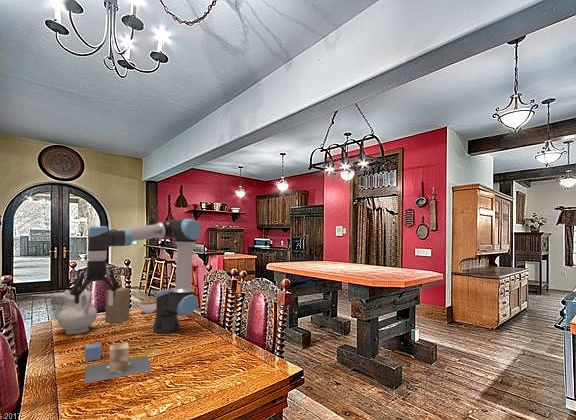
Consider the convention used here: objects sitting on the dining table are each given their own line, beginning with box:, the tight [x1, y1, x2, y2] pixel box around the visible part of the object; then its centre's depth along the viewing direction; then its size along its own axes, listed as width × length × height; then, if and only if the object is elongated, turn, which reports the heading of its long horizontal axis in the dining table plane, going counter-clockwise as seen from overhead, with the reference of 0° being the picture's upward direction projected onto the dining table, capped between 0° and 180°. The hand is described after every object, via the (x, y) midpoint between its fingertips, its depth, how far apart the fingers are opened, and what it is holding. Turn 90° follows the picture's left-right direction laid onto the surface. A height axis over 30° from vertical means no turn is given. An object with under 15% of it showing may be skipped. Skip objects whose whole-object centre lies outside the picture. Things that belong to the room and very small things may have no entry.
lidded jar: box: [140, 298, 156, 314], centre depth 234 cm, size 11×11×9 cm
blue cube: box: [84, 342, 102, 362], centre depth 151 cm, size 6×6×6 cm
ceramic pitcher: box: [56, 286, 98, 335], centre depth 191 cm, size 22×20×25 cm
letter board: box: [83, 355, 153, 384], centre depth 140 cm, size 24×18×1 cm
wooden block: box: [104, 287, 131, 324], centre depth 214 cm, size 10×10×20 cm
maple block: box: [108, 342, 130, 373], centre depth 140 cm, size 7×7×9 cm
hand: (95, 307), depth 149 cm, fingers open, 13 cm apart
